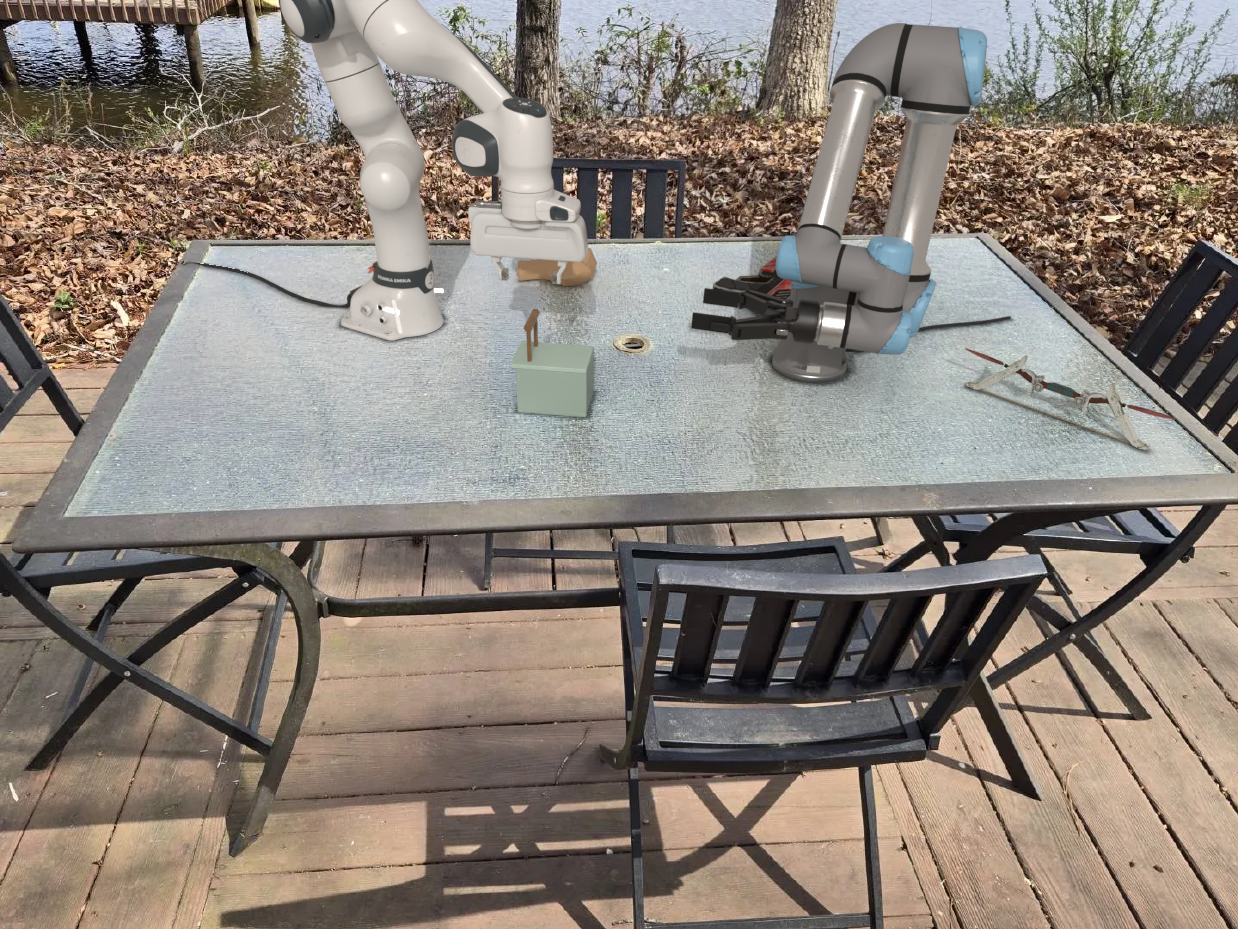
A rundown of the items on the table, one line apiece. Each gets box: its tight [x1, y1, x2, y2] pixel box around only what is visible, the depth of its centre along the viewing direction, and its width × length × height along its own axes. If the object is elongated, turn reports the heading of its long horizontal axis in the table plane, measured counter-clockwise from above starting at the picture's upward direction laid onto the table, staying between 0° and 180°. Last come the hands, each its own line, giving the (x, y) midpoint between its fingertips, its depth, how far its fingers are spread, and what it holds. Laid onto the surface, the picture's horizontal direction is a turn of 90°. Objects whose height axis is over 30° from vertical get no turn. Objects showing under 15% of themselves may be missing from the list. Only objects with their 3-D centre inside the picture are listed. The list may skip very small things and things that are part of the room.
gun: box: [712, 255, 792, 316], centre depth 215 cm, size 4×31×19 cm
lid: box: [509, 308, 595, 373], centre depth 161 cm, size 14×10×8 cm
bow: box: [964, 347, 1177, 451], centre depth 165 cm, size 39×2×10 cm, turn 47°
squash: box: [516, 247, 598, 287], centre depth 216 cm, size 11×20×9 cm, turn 90°
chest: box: [515, 350, 595, 418], centre depth 165 cm, size 13×10×9 cm
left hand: (530, 281), depth 155 cm, fingers open, 8 cm apart
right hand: (697, 307), depth 157 cm, fingers open, 13 cm apart
